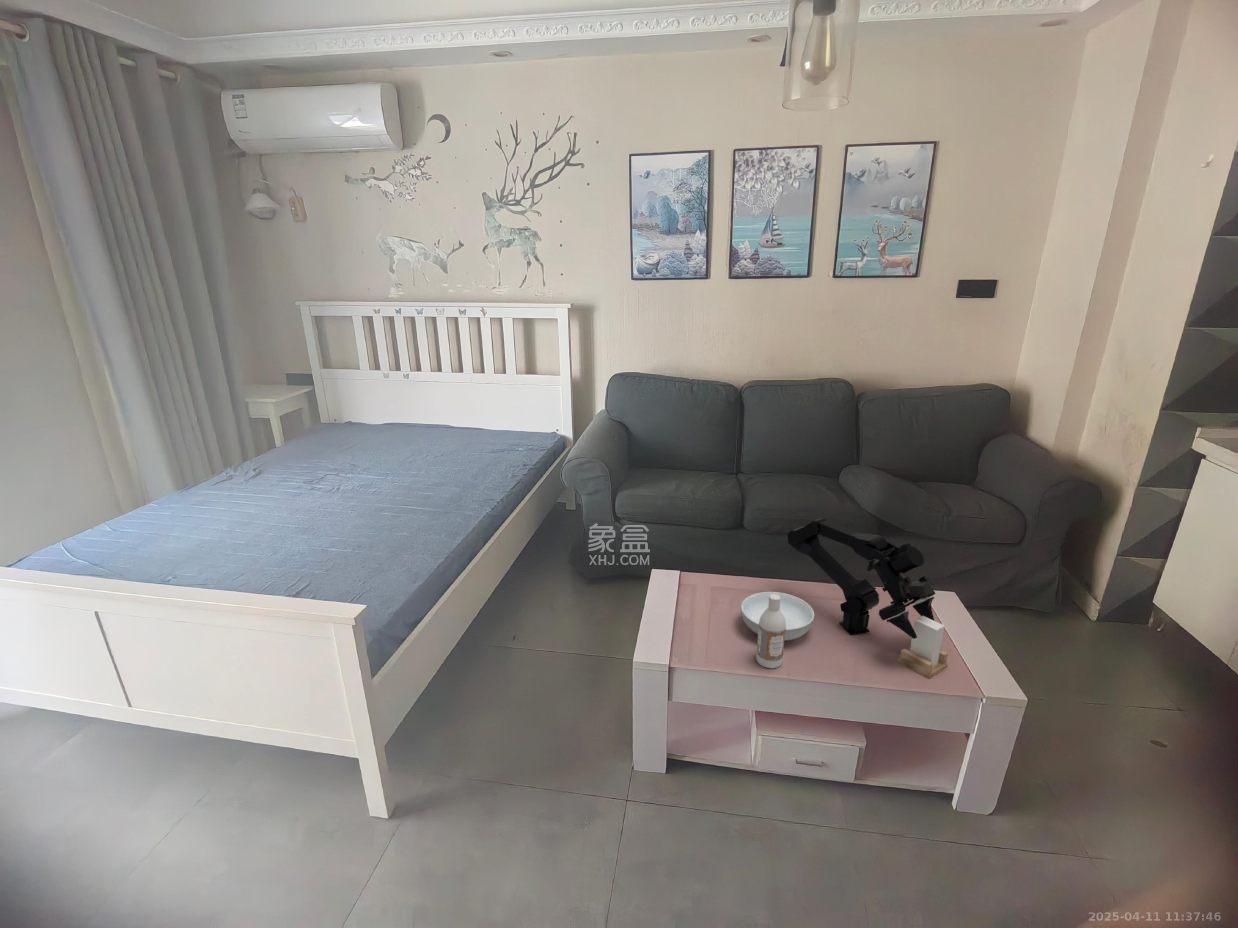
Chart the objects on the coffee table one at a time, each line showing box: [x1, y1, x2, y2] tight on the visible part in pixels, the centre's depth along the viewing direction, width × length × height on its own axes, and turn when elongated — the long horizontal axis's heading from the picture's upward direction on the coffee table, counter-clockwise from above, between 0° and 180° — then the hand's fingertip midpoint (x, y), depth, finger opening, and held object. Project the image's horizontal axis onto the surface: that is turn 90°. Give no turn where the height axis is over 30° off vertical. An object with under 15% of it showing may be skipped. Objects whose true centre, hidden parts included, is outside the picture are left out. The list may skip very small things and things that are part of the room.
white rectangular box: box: [909, 615, 946, 668], centre depth 164 cm, size 6×4×12 cm, turn 35°
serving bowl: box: [740, 591, 815, 641], centre depth 181 cm, size 21×21×7 cm
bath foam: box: [755, 594, 786, 669], centre depth 164 cm, size 7×7×20 cm
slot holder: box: [896, 648, 949, 679], centre depth 166 cm, size 9×9×4 cm
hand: (924, 632), depth 164 cm, fingers open, 9 cm apart
